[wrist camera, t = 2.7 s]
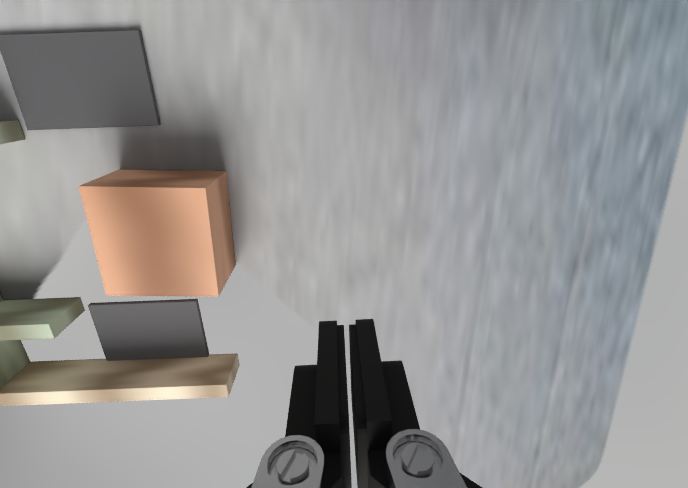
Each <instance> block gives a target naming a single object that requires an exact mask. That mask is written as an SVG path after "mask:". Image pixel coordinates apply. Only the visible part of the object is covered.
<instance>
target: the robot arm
mask: <svg viewBox="0 0 688 488" xmlns="http://www.w3.org/2000/svg"><path fill="white" fill-rule="evenodd" d="M349 336H350V366H351V394H352V411H353V426H354V441H355V455H356V471H357V485H358V488H482V487H480V486H479V485H477V484H476V483H474V482H473V481H471V480H470V479H468V478H467V477H465V476H464V475H462V474H461V473H459V471H458V469H457V467H456V465H455V463H454V461H453V459H452V457H451V455H450V453H449V451H448V449H447V448H446V446H445V445H444V443H443V442H442V441H441V440H440V439H439V438H437V437H436V436H435V435H433V434H431V433H429V432H427V431H424V430H420V427H419V423H418V420H417V416H416V412H415V408H414V405H413V401H412V397H411V393H410V389H409V386H408V382H407V378H406V374H405V370H404V367H403V363H402V361H383V362H381V359H380V353H379V348H378V342H377V337H376V332H375V326H374V321H373V319H363V320H356V325H349ZM317 359H318V360H317V365H303V366H295V369H294V375H293V383H292V390H291V398H290V405H289V413H288V420H287V428H286V435H285V437H284V438H281V439H280V440H278V441H276V442H275V443H273V444H272V445H271V446H270V447H269V448H268V449H267V450H266V452H265V454H264V455H263V457H262V459H261V462H260V465H259V467H258V470H257V473H256V476H255V479H254V482H253V483H252V484H251V485H249V486H248V487H247V488H351V461H350V436H349V414H348V395H347V377H346V359H345V341H344V325H337V321H320V322H319V339H318V358H317Z"/></svg>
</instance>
